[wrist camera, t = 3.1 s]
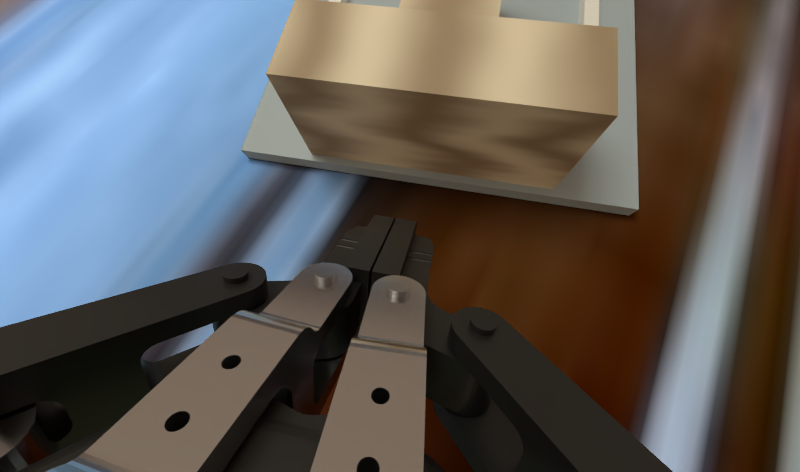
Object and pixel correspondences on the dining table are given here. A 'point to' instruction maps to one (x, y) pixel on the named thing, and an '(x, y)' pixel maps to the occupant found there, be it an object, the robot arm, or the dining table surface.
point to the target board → (581, 188)
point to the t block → (447, 87)
